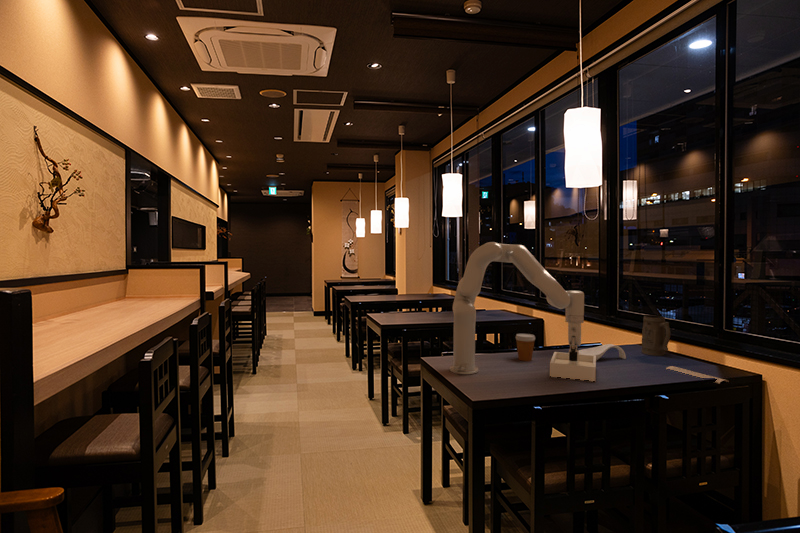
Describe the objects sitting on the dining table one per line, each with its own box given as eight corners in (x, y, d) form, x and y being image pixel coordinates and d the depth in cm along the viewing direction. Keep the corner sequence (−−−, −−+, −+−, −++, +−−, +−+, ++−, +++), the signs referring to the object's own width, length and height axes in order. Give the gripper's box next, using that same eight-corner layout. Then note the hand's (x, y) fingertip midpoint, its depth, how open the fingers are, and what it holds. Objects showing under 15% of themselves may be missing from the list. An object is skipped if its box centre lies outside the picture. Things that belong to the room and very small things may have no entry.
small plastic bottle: (577, 374, 201) (578, 351, 200) (568, 373, 202) (568, 350, 202) (578, 371, 205) (578, 349, 204) (568, 370, 206) (569, 348, 206)
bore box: (595, 381, 190) (595, 367, 190) (549, 376, 197) (549, 362, 197) (595, 368, 210) (595, 355, 210) (554, 364, 217) (554, 351, 217)
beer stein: (635, 351, 242) (638, 314, 240) (649, 349, 247) (652, 313, 245) (662, 360, 229) (666, 321, 226) (676, 358, 233) (680, 319, 231)
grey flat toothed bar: (665, 370, 209) (666, 366, 209) (676, 369, 212) (676, 365, 212) (719, 385, 188) (719, 381, 188) (730, 383, 191) (730, 379, 190)
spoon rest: (585, 363, 221) (585, 348, 221) (572, 357, 233) (572, 343, 232) (630, 361, 224) (630, 346, 224) (615, 355, 236) (616, 341, 235)
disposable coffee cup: (537, 362, 221) (537, 337, 221) (517, 361, 222) (517, 337, 221) (532, 357, 231) (532, 333, 230) (513, 357, 231) (513, 333, 231)
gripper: (583, 322, 193) (582, 364, 194) (584, 316, 209) (583, 355, 210) (564, 321, 196) (563, 362, 197) (566, 315, 212) (565, 353, 213)
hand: (573, 358), depth 203 cm, fingers open, 7 cm apart
